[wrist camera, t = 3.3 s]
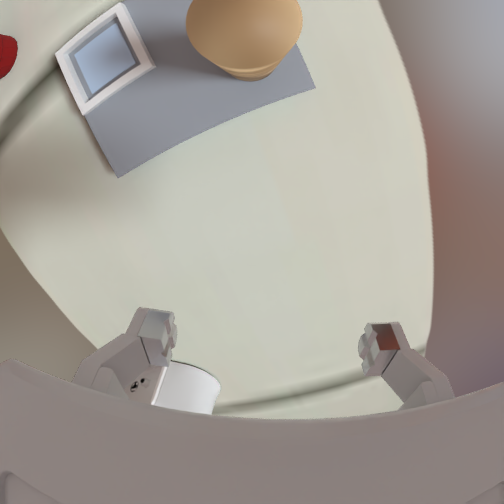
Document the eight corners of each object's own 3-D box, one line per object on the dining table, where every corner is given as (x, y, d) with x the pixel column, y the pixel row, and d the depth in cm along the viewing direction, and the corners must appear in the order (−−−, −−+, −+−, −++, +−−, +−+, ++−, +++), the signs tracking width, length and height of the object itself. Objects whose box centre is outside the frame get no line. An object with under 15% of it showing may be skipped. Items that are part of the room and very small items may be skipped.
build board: (126, 172, 26) (113, 181, 24) (67, 54, 18) (50, 53, 16) (311, 88, 22) (318, 87, 19) (241, -44, 14) (240, -57, 11)
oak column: (236, 89, 20) (212, 86, 9) (214, 45, 18) (169, 1, 7) (286, 70, 19) (320, 47, 8) (265, 26, 17) (273, -37, 6)
